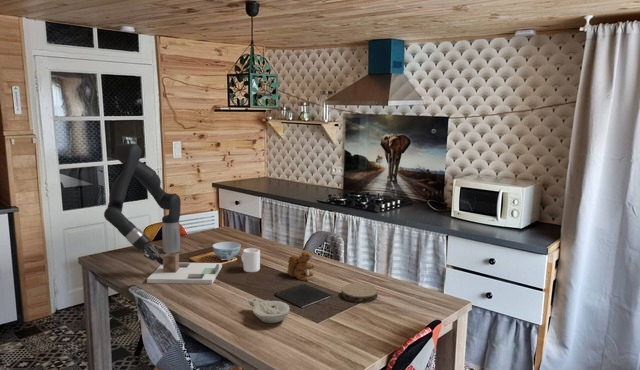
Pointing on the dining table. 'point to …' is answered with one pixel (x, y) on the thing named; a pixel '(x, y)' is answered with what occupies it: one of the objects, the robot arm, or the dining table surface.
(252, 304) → the oil lamp
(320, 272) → the dining table surface
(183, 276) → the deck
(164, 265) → the block
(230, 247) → the chinaware
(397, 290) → the dining table surface
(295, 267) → the stuffed squirrel
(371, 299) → the wood slice
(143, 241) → the robot arm
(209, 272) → the pad
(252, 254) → the mug
